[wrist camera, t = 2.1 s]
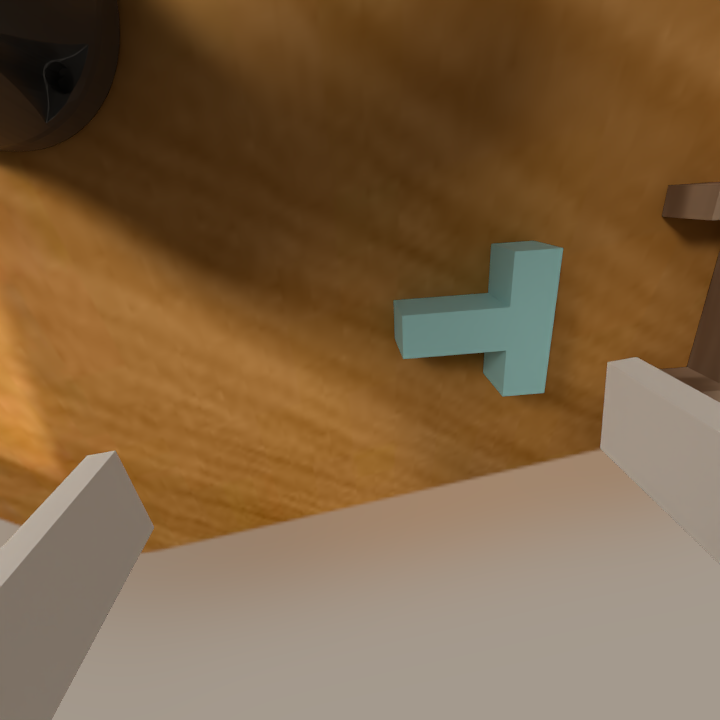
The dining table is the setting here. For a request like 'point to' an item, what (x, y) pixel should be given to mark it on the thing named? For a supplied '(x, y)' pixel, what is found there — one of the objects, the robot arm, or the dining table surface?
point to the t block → (492, 319)
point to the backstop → (716, 328)
